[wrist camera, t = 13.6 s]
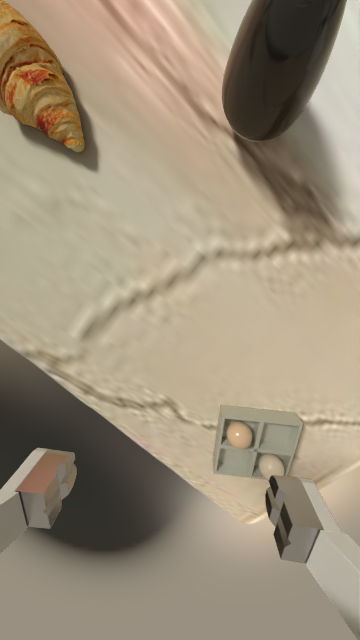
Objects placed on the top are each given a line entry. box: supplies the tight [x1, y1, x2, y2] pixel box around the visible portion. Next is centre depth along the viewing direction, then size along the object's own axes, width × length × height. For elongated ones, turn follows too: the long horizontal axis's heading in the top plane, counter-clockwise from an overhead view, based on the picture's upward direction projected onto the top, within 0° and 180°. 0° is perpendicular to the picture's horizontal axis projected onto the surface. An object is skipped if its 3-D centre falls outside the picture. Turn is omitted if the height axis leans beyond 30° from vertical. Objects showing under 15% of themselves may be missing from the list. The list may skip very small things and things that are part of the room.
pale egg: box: [259, 453, 284, 481], centre depth 42 cm, size 5×5×5 cm
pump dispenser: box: [222, 0, 347, 142], centre depth 20 cm, size 10×10×15 cm
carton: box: [213, 405, 303, 480], centre depth 42 cm, size 15×15×3 cm
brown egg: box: [226, 421, 252, 449], centre depth 40 cm, size 5×5×5 cm
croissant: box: [0, 0, 85, 152], centre depth 26 cm, size 21×10×8 cm, turn 41°
